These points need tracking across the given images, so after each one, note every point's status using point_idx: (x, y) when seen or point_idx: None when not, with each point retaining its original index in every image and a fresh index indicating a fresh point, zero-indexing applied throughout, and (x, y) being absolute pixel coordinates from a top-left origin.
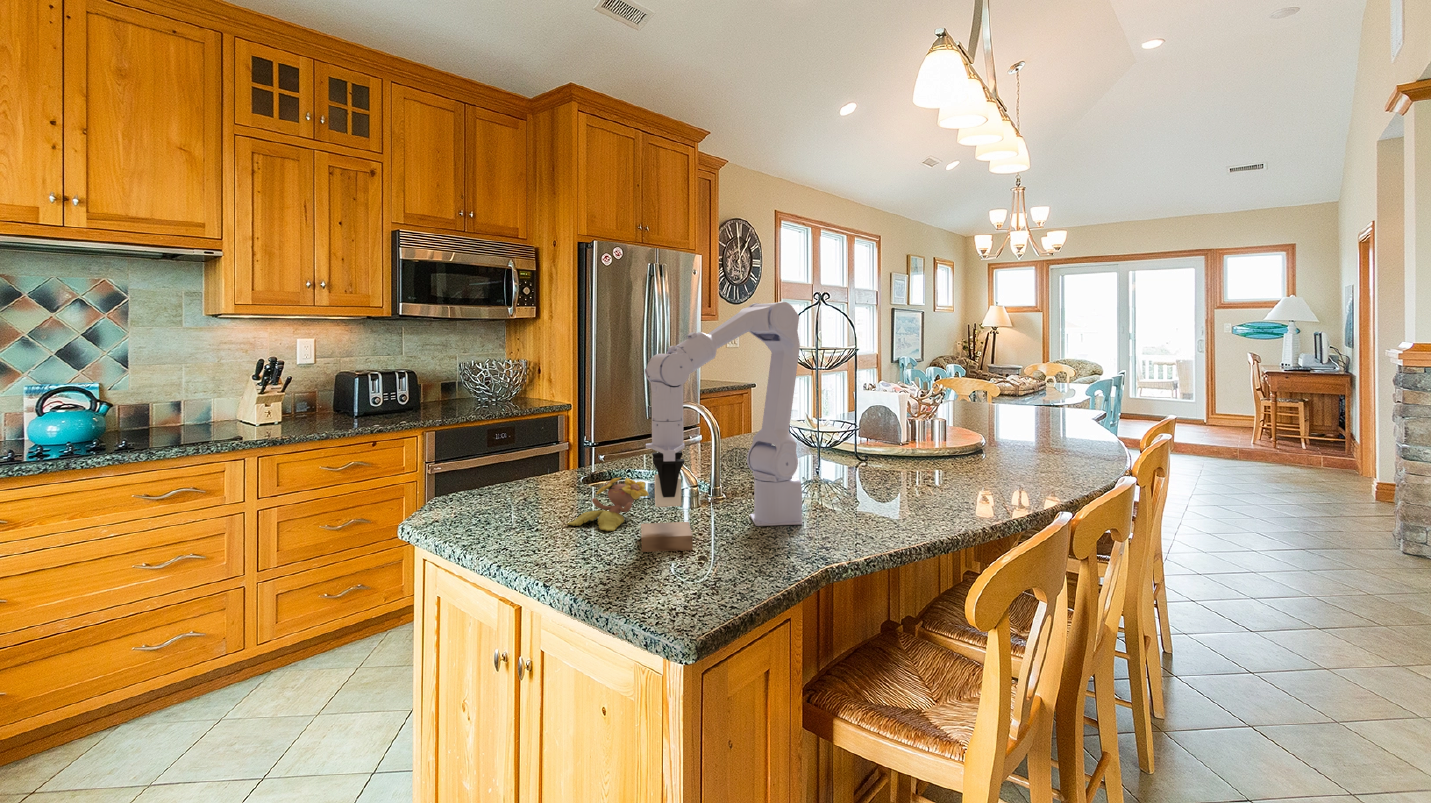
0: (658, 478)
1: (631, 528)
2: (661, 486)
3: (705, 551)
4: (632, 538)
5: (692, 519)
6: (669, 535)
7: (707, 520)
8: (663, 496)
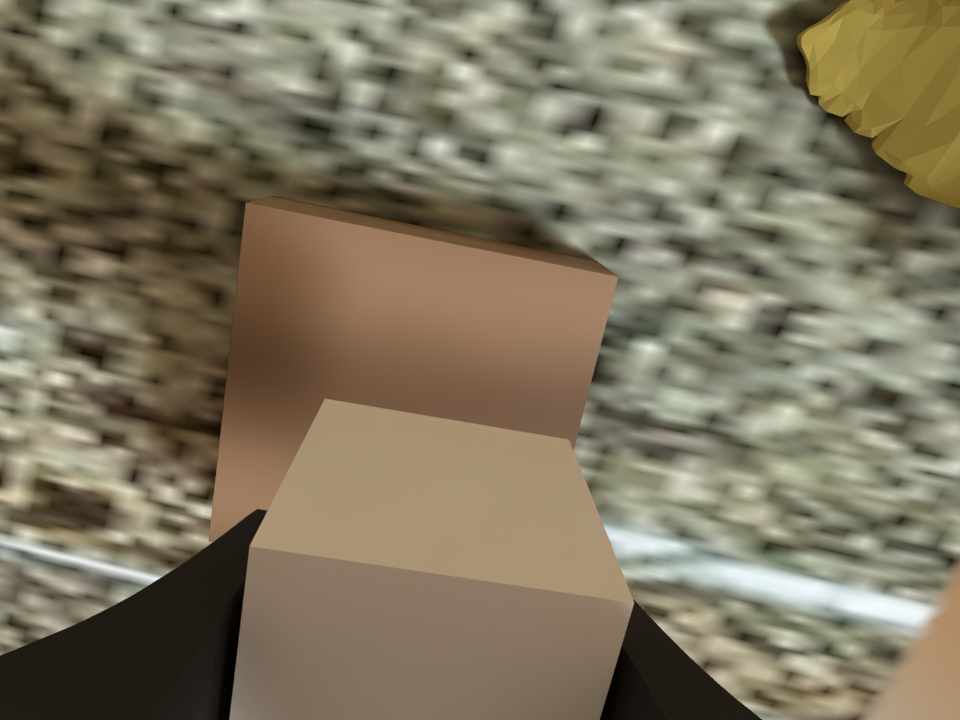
0: (316, 599)
1: (819, 235)
2: (192, 559)
3: (188, 551)
4: (586, 195)
5: (833, 632)
6: (250, 404)
7: (772, 700)
8: (249, 514)
